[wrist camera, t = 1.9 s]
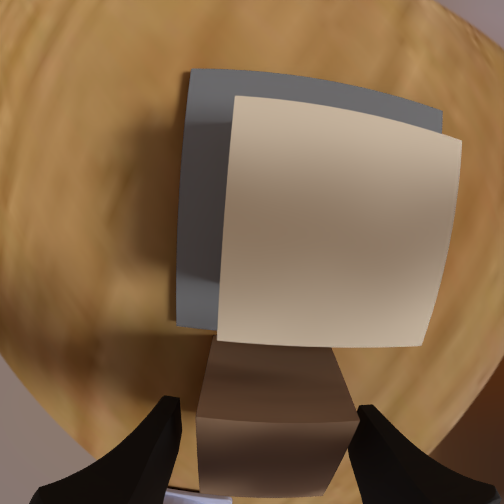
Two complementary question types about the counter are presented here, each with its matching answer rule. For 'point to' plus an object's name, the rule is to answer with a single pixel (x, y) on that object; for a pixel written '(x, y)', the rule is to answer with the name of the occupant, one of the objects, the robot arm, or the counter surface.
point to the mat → (217, 159)
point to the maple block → (333, 226)
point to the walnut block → (271, 420)
